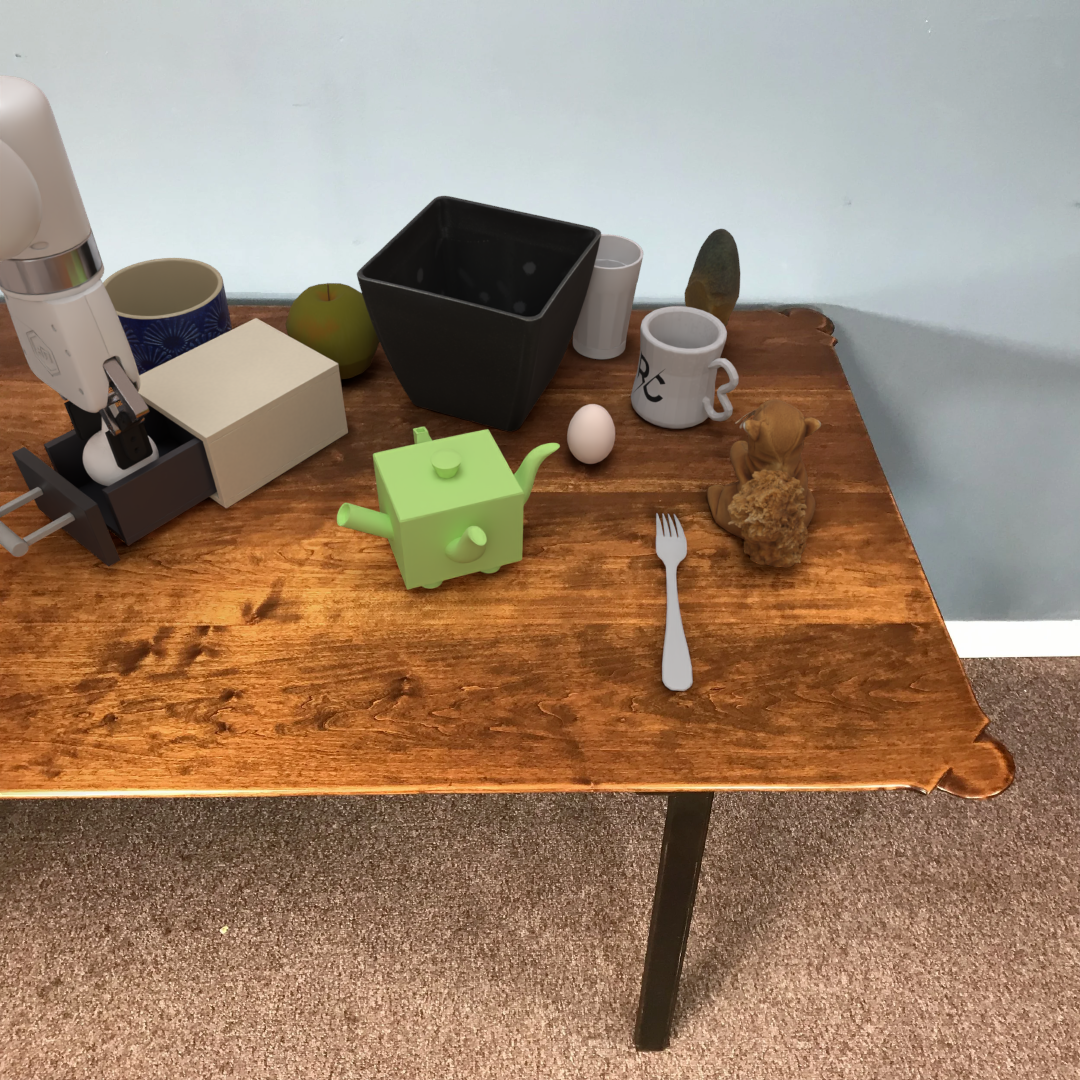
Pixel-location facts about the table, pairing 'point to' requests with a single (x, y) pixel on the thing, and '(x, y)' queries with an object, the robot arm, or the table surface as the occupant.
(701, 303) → the decorative stone
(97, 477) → the garlic bulb
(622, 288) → the cup
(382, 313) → the flower pot
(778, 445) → the stuffed squirrel
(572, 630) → the table surface
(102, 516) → the drawer
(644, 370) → the mug
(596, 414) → the egg
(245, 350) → the cabinet
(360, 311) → the apple
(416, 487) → the kettle
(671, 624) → the fork
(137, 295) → the planter
